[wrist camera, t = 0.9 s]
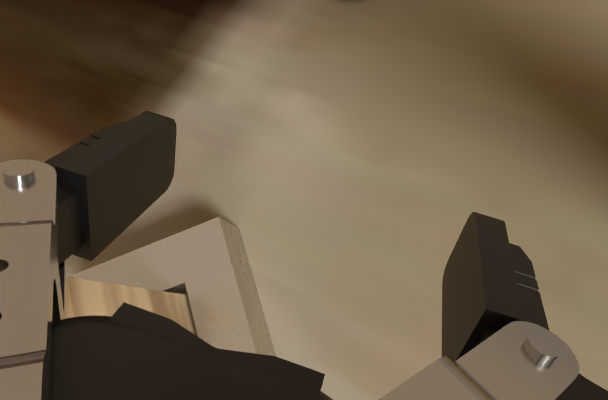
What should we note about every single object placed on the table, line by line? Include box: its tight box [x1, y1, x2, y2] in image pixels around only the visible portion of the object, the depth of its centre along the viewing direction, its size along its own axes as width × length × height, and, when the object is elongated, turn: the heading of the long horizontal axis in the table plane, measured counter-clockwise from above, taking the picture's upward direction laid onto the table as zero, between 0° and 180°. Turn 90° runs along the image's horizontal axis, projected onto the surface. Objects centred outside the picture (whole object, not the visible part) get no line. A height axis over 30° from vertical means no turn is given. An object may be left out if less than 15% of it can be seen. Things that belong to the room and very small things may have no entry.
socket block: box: [73, 217, 276, 357], centre depth 34 cm, size 12×12×4 cm
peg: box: [66, 277, 198, 336], centre depth 28 cm, size 4×4×14 cm
